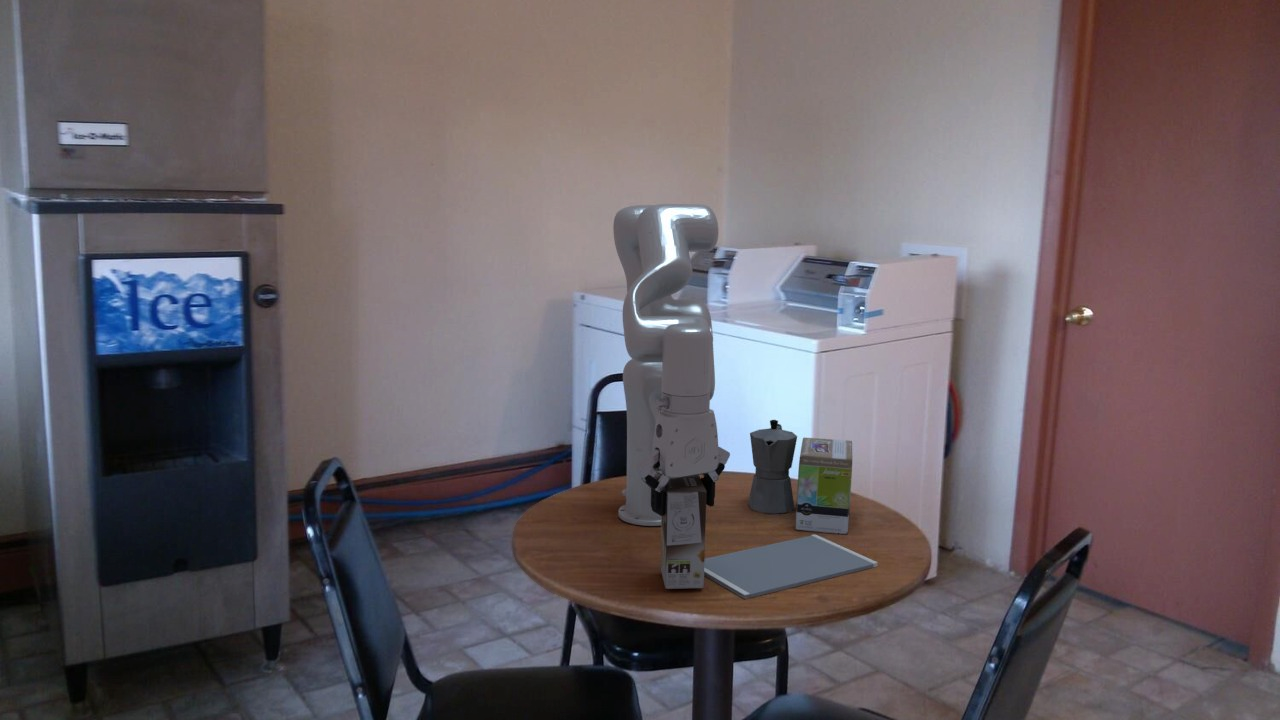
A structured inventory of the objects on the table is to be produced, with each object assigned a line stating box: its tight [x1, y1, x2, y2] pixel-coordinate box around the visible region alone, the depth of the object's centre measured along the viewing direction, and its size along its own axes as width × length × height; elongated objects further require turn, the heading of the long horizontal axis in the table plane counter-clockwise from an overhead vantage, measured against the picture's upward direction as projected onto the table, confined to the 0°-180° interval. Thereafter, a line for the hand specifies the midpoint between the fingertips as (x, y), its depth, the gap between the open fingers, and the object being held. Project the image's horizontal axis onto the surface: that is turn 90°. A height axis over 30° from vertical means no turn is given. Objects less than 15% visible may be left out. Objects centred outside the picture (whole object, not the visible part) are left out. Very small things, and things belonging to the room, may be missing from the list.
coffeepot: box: [747, 419, 798, 515], centre depth 198 cm, size 15×9×18 cm, turn 165°
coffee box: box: [659, 475, 707, 590], centre depth 158 cm, size 9×6×16 cm
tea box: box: [795, 437, 853, 535], centre depth 190 cm, size 15×10×15 cm, turn 168°
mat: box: [704, 534, 879, 600], centre depth 167 cm, size 16×28×1 cm, turn 121°
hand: (683, 508), depth 158 cm, fingers closed on coffee box, 8 cm apart
